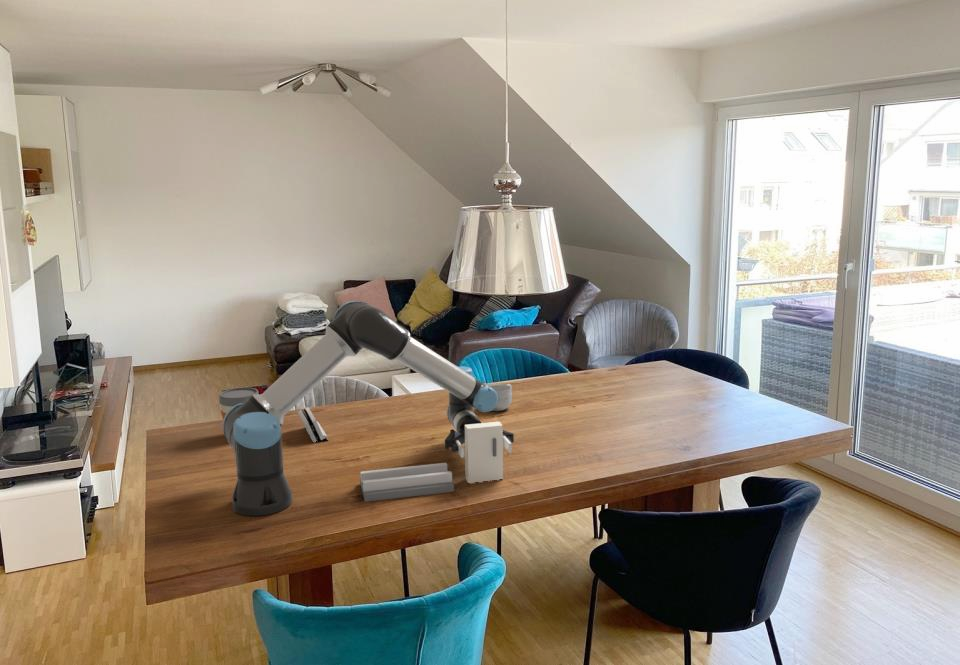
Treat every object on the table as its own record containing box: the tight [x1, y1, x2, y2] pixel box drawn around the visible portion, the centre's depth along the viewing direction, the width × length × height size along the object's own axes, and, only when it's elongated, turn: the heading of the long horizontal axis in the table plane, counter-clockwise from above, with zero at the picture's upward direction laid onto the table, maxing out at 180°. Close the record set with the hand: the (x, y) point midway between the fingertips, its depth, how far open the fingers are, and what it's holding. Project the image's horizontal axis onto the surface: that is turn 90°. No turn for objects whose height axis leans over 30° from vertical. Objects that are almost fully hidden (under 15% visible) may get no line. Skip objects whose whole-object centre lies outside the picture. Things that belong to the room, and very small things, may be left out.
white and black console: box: [297, 406, 329, 443], centre depth 253 cm, size 17×5×10 cm, turn 22°
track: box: [359, 462, 455, 503], centre depth 210 cm, size 24×12×4 cm, turn 104°
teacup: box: [488, 383, 513, 412], centre depth 279 cm, size 14×11×8 cm
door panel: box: [464, 421, 504, 484], centre depth 213 cm, size 10×4×16 cm, turn 104°
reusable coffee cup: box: [219, 386, 259, 421], centre depth 251 cm, size 13×12×15 cm
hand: (486, 450), depth 211 cm, fingers open, 13 cm apart
